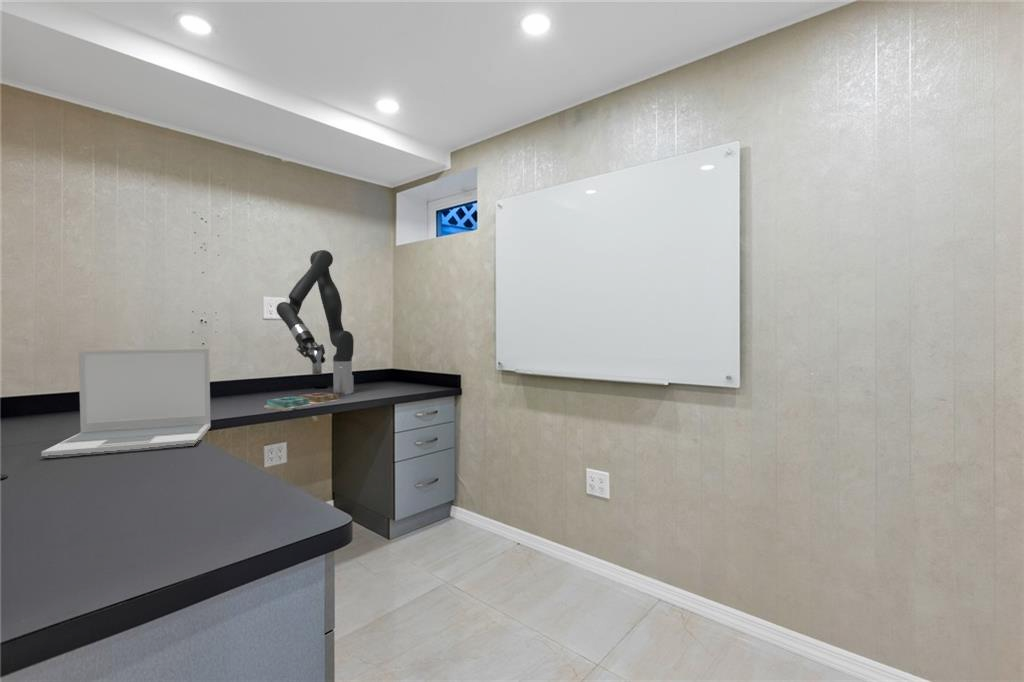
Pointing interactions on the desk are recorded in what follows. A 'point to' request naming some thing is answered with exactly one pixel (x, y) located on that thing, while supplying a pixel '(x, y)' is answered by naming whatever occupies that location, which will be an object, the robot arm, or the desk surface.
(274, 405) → the dock board
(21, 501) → the desk surface
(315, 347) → the steel pin
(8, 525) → the desk surface
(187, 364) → the laptop
